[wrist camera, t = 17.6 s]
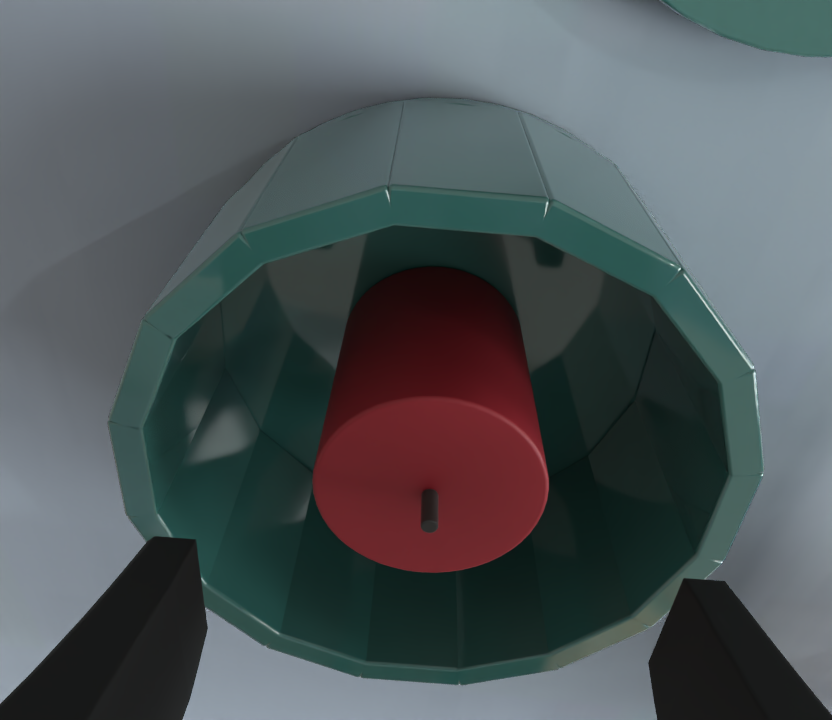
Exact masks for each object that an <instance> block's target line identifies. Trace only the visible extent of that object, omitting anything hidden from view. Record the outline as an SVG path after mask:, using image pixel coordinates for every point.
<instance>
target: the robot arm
mask: <svg viewBox="0 0 832 720" xmlns="http://www.w3.org/2000/svg"><path fill="white" fill-rule="evenodd" d="M207 629H208V628H207V620H206V612H205V605H204V597H203V589H202V582H201V574H200V566H199V558H198V551H197V543H196V539H186V538H173V537H161V536H154V537H153V538H151V539H150V540H148V541H147V543H146V544H145V545H144V546H143V547H142V549H141V550H140V551H139V552H138V554H137V555H136V556H135V557H134V558H133V560H132V561H131V562H130V563H129V564H128V566H127V567H126V568H125V569H124V570H123V572H122V573H121V574H120V575H119V576H118V577H117V579H116V580H115V581H114V582H113V583H112V584H111V586H110V587H109V588H108V589H107V590H106V591H105V593H104V594H103V595H102V596H101V597H100V598H99V599H98V601H97V602H96V603H95V604H94V605H93V606H92V607H91V609H90V610H89V611H88V612H87V613H86V614H85V615H84V617H83V618H82V619H81V620H80V621H79V622H78V623H77V624H76V625H75V626H74V627H73V629H72V630H71V631H70V632H69V633H68V634H67V635H66V636H65V637H64V638H63V639H62V640H61V642H60V643H59V644H58V645H57V646H56V647H55V648H54V649H53V650H52V651H51V652H50V653H49V655H48V656H47V657H46V658H45V659H44V660H43V661H42V662H41V663H40V664H39V665H38V666H37V667H36V668H35V670H34V671H33V672H32V673H31V674H30V675H29V676H28V677H27V678H26V679H25V680H24V681H23V682H22V683H21V684H20V685H19V686H18V687H17V688H16V689H15V690H14V691H13V692H12V693H11V694H10V695H9V696H8V697H7V698H6V699H5V700H4V701H3V702H2V703H1V704H0V720H182V719H183V716H184V714H185V711H186V708H187V705H188V702H189V700H190V696H191V693H192V689H193V685H194V681H195V677H196V673H197V670H198V666H199V662H200V657H201V653H202V649H203V645H204V641H205V637H206V633H207ZM648 664H649V670H650V677H651V683H652V690H653V697H654V703H655V709H656V714H657V720H832V715H831V714H830V712H829V711H828V710H827V709H826V708H825V706H824V705H823V704H822V703H821V702H820V700H819V699H818V698H817V697H816V696H815V694H814V693H813V692H812V691H811V689H810V688H809V687H808V686H807V685H806V683H805V682H804V681H803V680H802V678H801V677H800V676H799V675H798V673H797V672H796V671H795V670H794V668H793V667H792V666H791V665H790V663H789V662H788V661H787V660H786V658H785V657H784V656H783V655H782V653H781V652H780V651H779V650H778V648H777V647H776V646H775V644H774V643H773V642H772V641H771V639H770V638H769V637H768V636H767V634H766V633H765V632H764V630H763V629H762V628H761V627H760V625H759V624H758V623H757V622H756V620H755V619H754V618H753V616H752V615H751V614H750V613H749V611H748V610H747V609H746V608H745V606H744V605H743V604H742V602H741V601H740V600H739V599H738V597H737V596H736V595H735V594H734V592H733V591H732V590H731V589H730V587H729V586H728V585H727V584H726V582H725V581H715V580H703V579H690V578H683V581H682V583H681V585H680V588H679V590H678V593H677V595H676V597H675V600H674V602H673V605H672V607H671V609H670V612H669V614H668V617H667V619H666V622H665V624H664V626H663V629H662V631H661V634H660V636H659V638H658V641H657V643H656V646H655V648H654V650H653V653H652V655H651V658H650V660H649V662H648Z"/></svg>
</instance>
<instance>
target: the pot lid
mask: <svg viewBox="0 0 832 720" xmlns="http://www.w3.org/2000/svg"><path fill="white" fill-rule="evenodd" d="M659 1H660V2H662V3H663V4H664V5H666V6H667V7H668V8H670V9H671V10H672V11H674V12H675V13H677V14H678V15H680V16H682V17H684V18H686V19H688V20H690V21H691V22H693V23H695V24H697V25H699V26H701V27H703V28H705V29H707V30H709V31H711V32H713V33H715V34H717V35H719V36H721V37H724V38H727V39H730V40H733V41H736V42H739V43H742V44H745V45H748V46H751V47H754V48H758V49H761V50H765V51H772V52H778V53H784V54H790V55H796V56H802V57H832V0H659Z"/></svg>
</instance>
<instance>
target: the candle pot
mask: <svg viewBox="0 0 832 720" xmlns="http://www.w3.org/2000/svg"><path fill="white" fill-rule="evenodd" d="M420 267H445V268H452V269H457V270H460V271H464V272H467V273H469V274H472V275H474V276H477V277H479V278H480V279H482V280H484V281H486V282H487V283H489V284H490V285H491V286H493V287H494V288H495V289H497V290H498V291H499V292H500V293H501V294H502V295H503V296H504V297H505V298H506V300H507V301H508V302H509V304H510V305H511V306H512V308H513V310H514V312H515V314H516V315H517V318H518V321H519V323H520V327H521V332H522V337H523V342H524V347H525V353H526V358H527V363H528V369H529V374H530V379H531V385H532V390H533V396H534V401H535V406H536V412H537V417H538V422H539V428H540V433H541V438H542V444H543V449H544V454H545V460H546V465H547V470H548V476H549V492H548V498H547V502H546V505H545V508H544V511H543V513H542V515H541V517H540V519H539V521H538V523H537V524H536V526H535V527H534V529H533V530H532V531H531V533H530V534H529V535H528V536H527V537H526V538H525V539H524V540H523V541H522V542H521V543H519V544H518V545H517V546H516V547H514V548H513V549H512V550H510V551H509V552H507V553H505V554H504V555H502V556H500V557H498V558H496V559H494V560H492V561H490V562H487V563H485V564H482V565H479V566H476V567H472V568H468V569H464V570H458V571H451V572H438V573H429V572H414V571H406V570H402V569H397V568H393V567H390V566H386V565H383V564H380V563H378V562H375V561H373V560H371V559H368V558H366V557H364V556H363V555H361V554H359V553H357V552H356V551H354V550H353V549H351V548H350V547H348V546H347V545H346V544H344V543H343V542H342V541H341V540H340V539H339V538H338V537H337V536H336V535H335V534H334V533H333V532H332V531H331V529H330V528H329V527H328V526H327V524H326V523H325V521H324V519H323V518H322V516H321V514H320V512H319V509H318V507H317V505H316V501H315V497H314V494H313V484H312V479H313V469H314V465H315V460H316V456H317V452H318V447H319V443H320V438H321V434H322V429H323V425H324V421H325V416H326V412H327V407H328V403H329V398H330V394H331V390H332V385H333V381H334V376H335V372H336V368H337V363H338V359H339V354H340V350H341V345H342V341H343V337H344V332H345V328H346V324H347V321H348V318H349V316H350V314H351V312H352V310H353V308H354V307H355V305H356V303H357V302H358V301H359V300H360V298H361V297H362V296H363V295H364V294H365V293H366V292H367V291H368V290H369V289H370V288H372V287H373V286H374V285H376V284H377V283H379V282H380V281H382V280H383V279H385V278H387V277H389V276H391V275H393V274H396V273H399V272H402V271H405V270H409V269H414V268H420ZM108 428H109V433H110V438H111V443H112V448H113V453H114V458H115V463H116V468H117V473H118V478H119V483H120V488H121V493H122V498H123V503H124V508H125V513H126V515H127V516H128V518H129V520H130V521H131V523H132V524H133V525H134V527H135V528H136V529H137V531H138V532H139V533H140V535H141V536H142V537H143V539H144V540H145V541H146V543H147V541H148V540H150V539H151V538H153V537H154V536H161V537H173V538H186V539H196V543H197V551H198V558H199V566H200V574H201V582H202V589H203V597H204V605H205V607H206V608H207V609H209V610H210V611H212V612H213V613H215V614H216V615H218V616H219V617H221V618H222V619H224V620H225V621H227V622H228V623H230V624H231V625H233V626H234V627H236V628H237V629H239V630H240V631H242V632H243V633H245V634H246V635H248V636H249V637H251V638H252V639H254V640H255V641H257V642H258V643H260V644H261V645H263V646H267V648H269V649H272V650H275V651H279V652H282V653H285V654H288V655H291V656H294V657H297V658H300V659H303V660H306V661H309V662H312V663H315V664H319V665H322V666H325V667H328V668H331V669H334V670H337V671H340V672H343V673H346V674H349V675H352V676H355V677H360V676H361V678H368V679H381V680H395V681H409V682H422V683H436V684H449V685H459V684H460V685H468V684H474V683H480V682H486V681H492V680H498V679H504V678H511V677H517V676H523V675H529V674H535V673H541V672H547V671H553V670H558V669H559V668H563V667H565V666H568V665H570V664H572V663H574V662H576V661H579V660H581V659H583V658H585V657H588V656H590V655H592V654H594V653H597V652H599V651H601V650H603V649H605V648H608V647H610V646H612V645H614V644H617V643H619V642H621V641H623V640H626V639H628V638H630V637H632V636H635V635H637V634H639V633H641V632H643V631H646V630H648V629H649V627H652V626H654V625H655V624H656V623H657V622H658V621H659V620H661V619H662V618H663V617H664V616H665V615H666V614H667V613H668V612H669V611H670V609H671V607H672V605H673V602H674V600H675V597H676V595H677V593H678V590H679V588H680V585H681V583H682V581H683V578H690V579H703V580H705V579H706V578H707V577H708V576H709V575H710V574H711V573H713V572H714V571H715V570H716V569H717V568H718V567H719V566H720V565H721V564H722V561H724V560H725V559H726V556H727V554H728V552H729V550H730V548H731V545H732V543H733V541H734V539H735V537H736V534H737V532H738V530H739V528H740V526H741V524H742V521H743V519H744V517H745V515H746V513H747V510H748V508H749V506H750V504H751V502H752V499H753V497H754V495H755V493H756V491H757V488H758V486H759V484H760V482H761V480H762V477H763V472H764V459H763V447H762V436H761V424H760V413H759V401H758V389H757V378H756V370H755V369H754V365H753V363H752V361H751V360H750V358H749V357H748V355H747V354H746V352H745V351H744V349H743V348H742V346H741V345H740V343H739V342H738V340H737V339H736V338H735V336H734V335H733V333H732V332H731V330H730V329H729V327H728V326H727V324H726V323H725V321H724V320H723V318H722V317H721V315H720V314H719V312H718V311H717V309H716V308H715V306H714V305H713V304H712V302H711V301H710V299H709V298H708V296H707V295H706V293H705V292H704V290H703V289H702V287H701V286H700V284H699V283H698V281H697V280H696V278H695V277H694V275H693V274H692V273H691V271H690V270H689V268H688V267H687V265H686V264H685V262H684V261H683V259H682V258H681V256H680V255H679V253H678V252H677V250H676V249H675V247H674V246H673V244H672V243H671V241H670V240H669V239H668V237H667V236H666V234H665V233H664V232H663V230H662V229H661V227H660V226H659V225H658V223H657V222H656V220H655V219H654V217H653V216H652V215H651V213H650V212H649V210H648V209H647V208H646V206H645V205H644V203H643V202H642V201H641V199H640V198H639V196H638V195H637V193H636V192H635V191H634V189H633V188H632V187H631V185H630V184H629V182H628V181H627V180H626V178H625V177H624V175H623V174H622V173H621V171H620V170H619V168H618V167H617V166H616V165H615V164H613V163H612V161H611V160H609V159H607V158H605V157H604V156H602V155H600V154H598V153H597V152H596V151H595V150H594V149H593V148H591V147H590V146H588V145H587V144H585V143H584V142H582V141H581V140H579V139H577V138H576V137H574V136H573V135H571V134H570V133H568V132H567V131H565V130H564V129H562V128H559V127H557V126H555V125H553V124H551V123H549V122H546V121H544V120H542V119H540V118H538V117H536V116H533V115H531V114H528V113H525V112H522V111H518V110H515V109H511V108H508V107H505V106H501V105H498V104H493V103H487V102H480V101H474V100H467V99H461V98H417V99H409V100H401V101H392V102H386V103H382V104H378V105H374V106H370V107H367V108H363V109H359V110H355V111H352V112H349V113H347V114H344V115H342V116H340V117H337V118H335V119H332V120H330V121H328V122H325V123H323V124H320V125H319V126H317V127H315V128H314V129H312V130H310V131H309V132H306V133H303V134H301V135H299V137H295V138H294V139H293V140H292V141H291V142H290V143H289V144H288V145H286V146H285V147H284V148H283V149H281V150H280V151H279V152H278V153H277V154H275V155H274V156H273V157H272V158H270V159H269V160H268V161H267V162H265V163H264V164H263V166H262V167H261V168H260V169H259V170H258V171H257V172H256V173H255V174H254V175H253V176H252V178H251V179H250V180H249V181H248V182H247V183H246V184H245V185H244V186H243V187H242V188H241V189H240V190H238V191H237V192H236V193H235V194H234V195H233V196H232V197H231V198H230V199H229V200H228V201H227V202H226V203H225V204H224V206H223V207H222V209H221V210H220V211H219V213H218V214H217V215H216V217H215V218H214V220H213V221H212V222H211V224H210V225H209V227H208V228H207V229H206V231H205V232H204V233H203V235H202V236H201V238H200V239H199V240H198V242H197V243H196V245H195V246H194V247H193V249H192V250H191V252H190V253H189V254H188V256H187V257H186V258H185V260H184V261H183V263H182V264H181V265H180V267H179V268H178V270H177V271H176V272H175V274H174V275H173V277H172V278H171V279H170V281H169V282H168V283H167V285H166V286H165V288H164V289H163V290H162V292H161V293H160V295H159V296H158V297H157V299H156V300H155V301H154V303H153V304H152V306H151V307H150V308H149V310H148V311H147V313H146V314H145V316H144V317H143V319H142V320H141V322H140V325H139V328H138V331H137V334H136V337H135V340H134V343H133V346H132V349H131V352H130V355H129V358H128V361H127V363H126V366H125V369H124V372H123V375H122V378H121V381H120V384H119V387H118V390H117V393H116V396H115V399H114V402H113V405H112V408H111V411H110V414H109V420H108Z"/></svg>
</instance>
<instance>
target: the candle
mask: <svg viewBox="0 0 832 720" xmlns="http://www.w3.org/2000/svg"><path fill="white" fill-rule="evenodd" d="M312 484H313V494H314V497H315V501H316V505H317V507H318V509H319V512H320V514H321V516H322V518H323V519H324V521H325V523H326V524H327V526H328V527H329V528H330V529H331V531H332V532H333V533H334V534H335V535H336V536H337V537H338V538H339V539H340V540H341V541H342V542H343V543H344V544H346V545H347V546H348V547H350V548H351V549H353V550H354V551H356V552H357V553H359V554H361V555H363V556H364V557H366V558H368V559H371V560H373V561H375V562H378V563H380V564H383V565H386V566H390V567H393V568H397V569H402V570H406V571H414V572H429V573H438V572H451V571H458V570H464V569H468V568H472V567H476V566H479V565H482V564H485V563H487V562H490V561H492V560H494V559H496V558H498V557H500V556H502V555H504V554H505V553H507V552H509V551H510V550H512V549H513V548H514V547H516V546H517V545H518V544H519V543H521V542H522V541H523V540H524V539H525V538H526V537H527V536H528V535H529V534H530V533H531V531H532V530H533V529H534V527H535V526H536V524H537V523H538V521H539V519H540V517H541V515H542V513H543V511H544V508H545V505H546V502H547V498H548V492H549V476H548V470H547V465H546V460H545V454H544V449H543V444H542V438H541V433H540V428H539V422H538V417H537V412H536V406H535V401H534V396H533V390H532V385H531V379H530V374H529V369H528V363H527V358H526V353H525V347H524V342H523V337H522V332H521V327H520V323H519V321H518V318H517V315H516V314H515V312H514V310H513V308H512V306H511V305H510V304H509V302H508V301H507V300H506V298H505V297H504V296H503V295H502V294H501V293H500V292H499V291H498V290H497V289H495V288H494V287H493V286H491V285H490V284H489V283H487V282H486V281H484V280H482V279H480V278H479V277H477V276H474V275H472V274H469V273H467V272H464V271H460V270H457V269H452V268H445V267H420V268H414V269H409V270H405V271H402V272H399V273H396V274H393V275H391V276H389V277H387V278H385V279H383V280H382V281H380V282H379V283H377V284H376V285H374V286H373V287H372V288H370V289H369V290H368V291H367V292H366V293H365V294H364V295H363V296H362V297H361V298H360V300H359V301H358V302H357V303H356V305H355V307H354V308H353V310H352V312H351V314H350V316H349V318H348V321H347V324H346V328H345V332H344V337H343V341H342V345H341V350H340V354H339V359H338V363H337V368H336V372H335V376H334V381H333V385H332V390H331V394H330V398H329V403H328V407H327V412H326V416H325V421H324V425H323V429H322V434H321V438H320V443H319V447H318V452H317V456H316V460H315V465H314V469H313V479H312Z"/></svg>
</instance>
